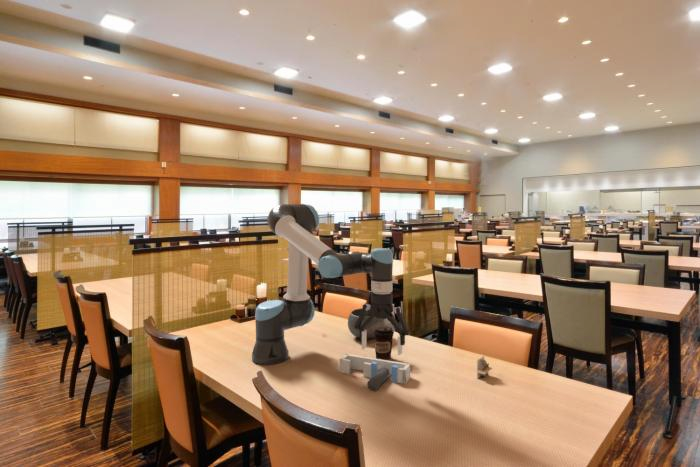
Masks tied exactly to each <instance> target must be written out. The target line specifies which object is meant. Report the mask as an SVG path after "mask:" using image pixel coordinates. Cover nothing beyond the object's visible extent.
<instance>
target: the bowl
mask: <svg viewBox="0 0 700 467" xmlns="http://www.w3.org/2000/svg"><path fill="white" fill-rule="evenodd" d="M362 309H363V307H362V308H356V309H354V310H352V311H351V312H349V315H348V317H347V329H348V330H349V332H350V333H351V334H352V335H353V336H354V337H356V338H358V339H360V331H359V330H358V329H355V325H356V322H357V320H358V318H359V316H360V314H361V312H362ZM372 313H373V312H372V311H371V309H369V310H368V311H367V313H366V315H365V317H364V319H363V321H362V323H361V326H362V325H363V324H364V322H365V321H366V320H367V319H368V318H369V317H370V315H371V314H372ZM385 322H386V321H385V319H382V318H376V317H374V318H373V320H372V321H371V322H370V323H369V324H368V325H367V326H366V327H365V329H364V330H367V340H370V339H374V331H375V328H376V327H382V326H386V324H385Z"/></svg>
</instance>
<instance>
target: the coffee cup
mask: <svg viewBox="0 0 700 467" xmlns="http://www.w3.org/2000/svg"><path fill="white" fill-rule="evenodd" d="M394 334H395V331H394V330H393V327H391V326H386V325H385V326H382V327H376V328H375V331H374V338H373V340H374V350H375V351H374V352H375V359H381V360H388V361H392V355H391V354H392V349H393V340H394Z"/></svg>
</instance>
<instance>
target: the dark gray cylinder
mask: <svg viewBox="0 0 700 467" xmlns="http://www.w3.org/2000/svg"><path fill="white" fill-rule="evenodd" d="M389 376H390V375H389V370H388V369H387V368H386V367H381V368H380V369H379V370H378V371H377V372H376V373H375V374H374V376H373V377H372V378H369V379H368V380H367V382H366V383H367V384H366V386H367V389H368V390H369V391H372V392H376V391H377V390H378V389H379V388H380V387H381V386H382V384H383V383H384V382H385V381H386V380H387V378H389Z"/></svg>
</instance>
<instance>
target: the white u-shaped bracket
mask: <svg viewBox="0 0 700 467" xmlns="http://www.w3.org/2000/svg"><path fill="white" fill-rule="evenodd" d="M381 367H386V368H387V369H388V370H389V376H391V383H397V384H404V385H407V382H408V381H409V380H410V378H411V364H410V363H405V362H400V361H393V360H381V359H376V357H375V358H374V357H367V356H361V355H357V354H356V355H355V354H349V353H345V354H344V355H343V356H342V357H341V358H340V359H339V372H340V373H343V374H348V375H350V374H351V370H359V371H363V377H364V378H369V379H371V378H372V377H373V376H374V374H375V373H376V372H377V371H378V370H379V369H380V368H381Z"/></svg>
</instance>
